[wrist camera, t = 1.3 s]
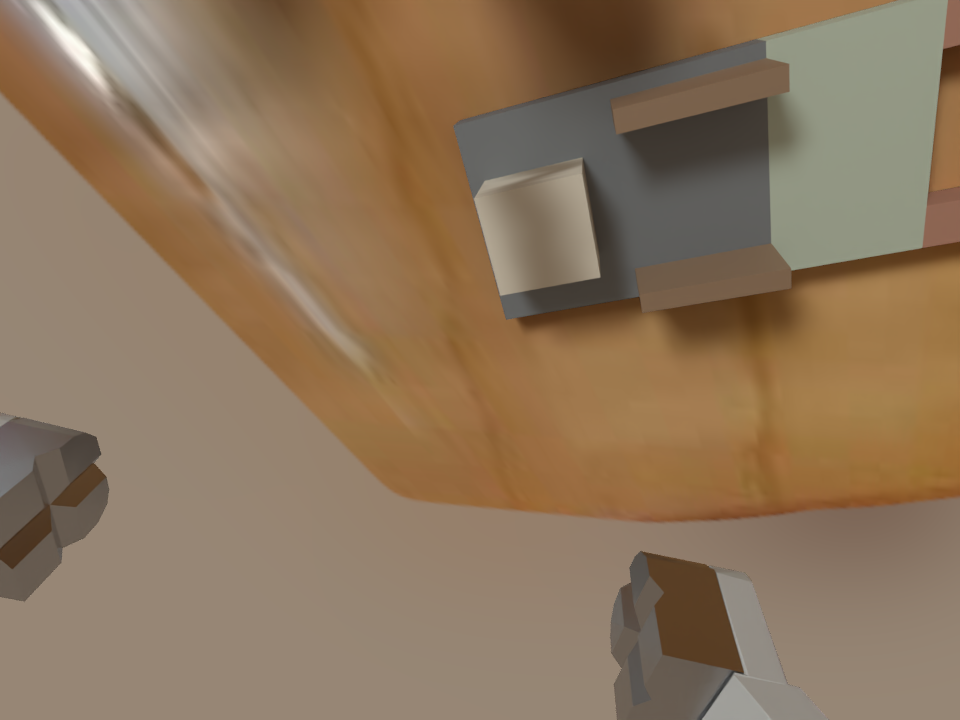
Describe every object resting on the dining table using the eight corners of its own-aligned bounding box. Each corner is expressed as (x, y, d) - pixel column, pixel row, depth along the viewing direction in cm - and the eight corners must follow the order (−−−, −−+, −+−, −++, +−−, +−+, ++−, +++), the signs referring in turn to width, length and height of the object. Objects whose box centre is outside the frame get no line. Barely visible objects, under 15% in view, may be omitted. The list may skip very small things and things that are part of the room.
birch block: (582, 157, 34) (582, 173, 30) (599, 252, 36) (600, 277, 33) (484, 180, 35) (474, 198, 32) (508, 270, 38) (500, 295, 35)
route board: (1126, -63, 27) (1252, -80, 22) (1066, 208, 33) (1154, 243, 28) (459, 120, 36) (438, 138, 31) (509, 307, 42) (498, 347, 37)
